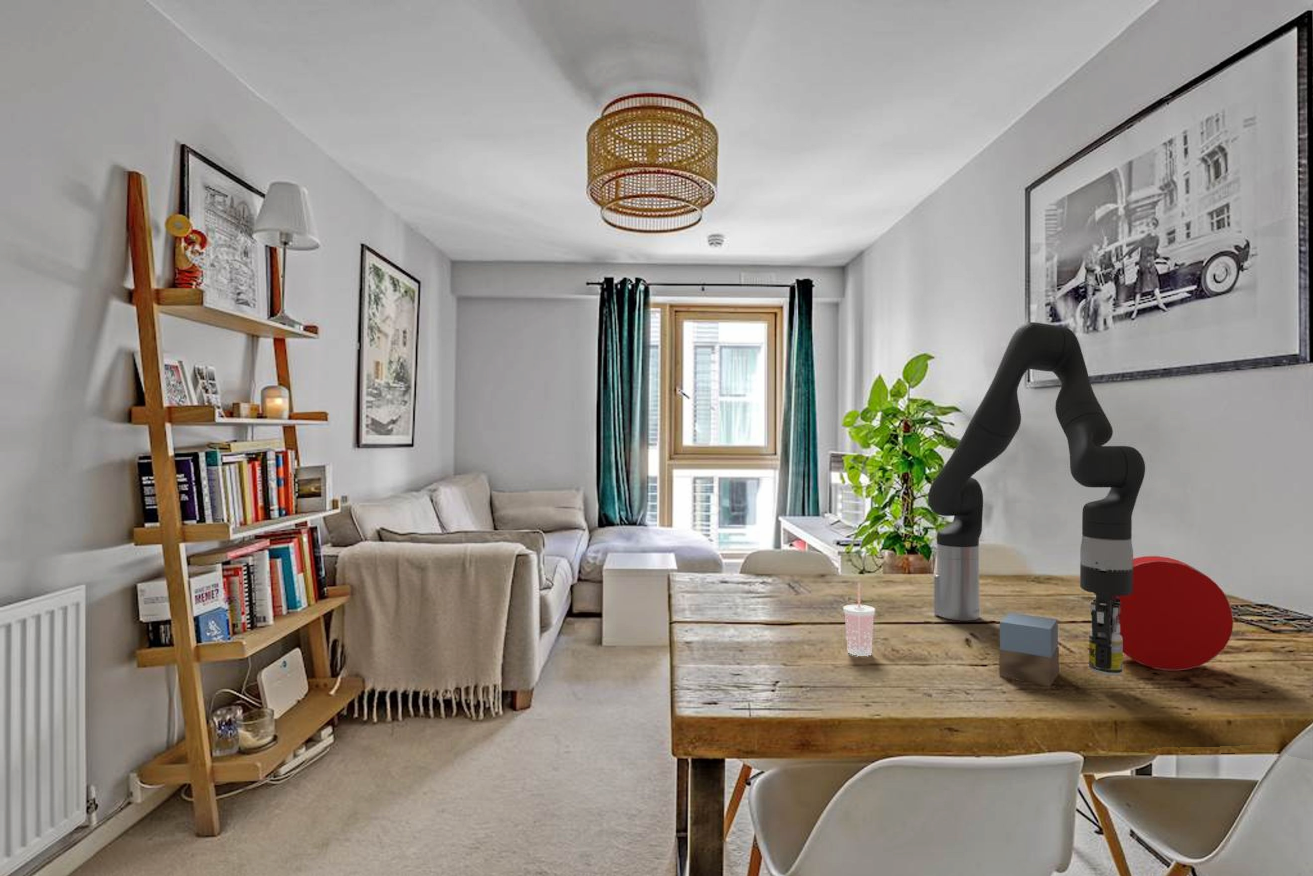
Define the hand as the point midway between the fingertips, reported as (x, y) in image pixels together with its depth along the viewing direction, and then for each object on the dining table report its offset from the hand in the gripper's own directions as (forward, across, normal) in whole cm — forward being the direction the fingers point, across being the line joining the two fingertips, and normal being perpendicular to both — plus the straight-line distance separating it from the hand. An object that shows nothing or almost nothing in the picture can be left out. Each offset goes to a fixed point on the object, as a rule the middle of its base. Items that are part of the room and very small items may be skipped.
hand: (1105, 662), depth 117 cm
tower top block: (0, 0, -12) cm, 12 cm away
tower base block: (+5, 0, -12) cm, 12 cm away
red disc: (+5, -21, +6) cm, 22 cm away
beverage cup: (+5, +7, -41) cm, 42 cm away
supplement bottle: (+2, 0, 0) cm, 2 cm away
